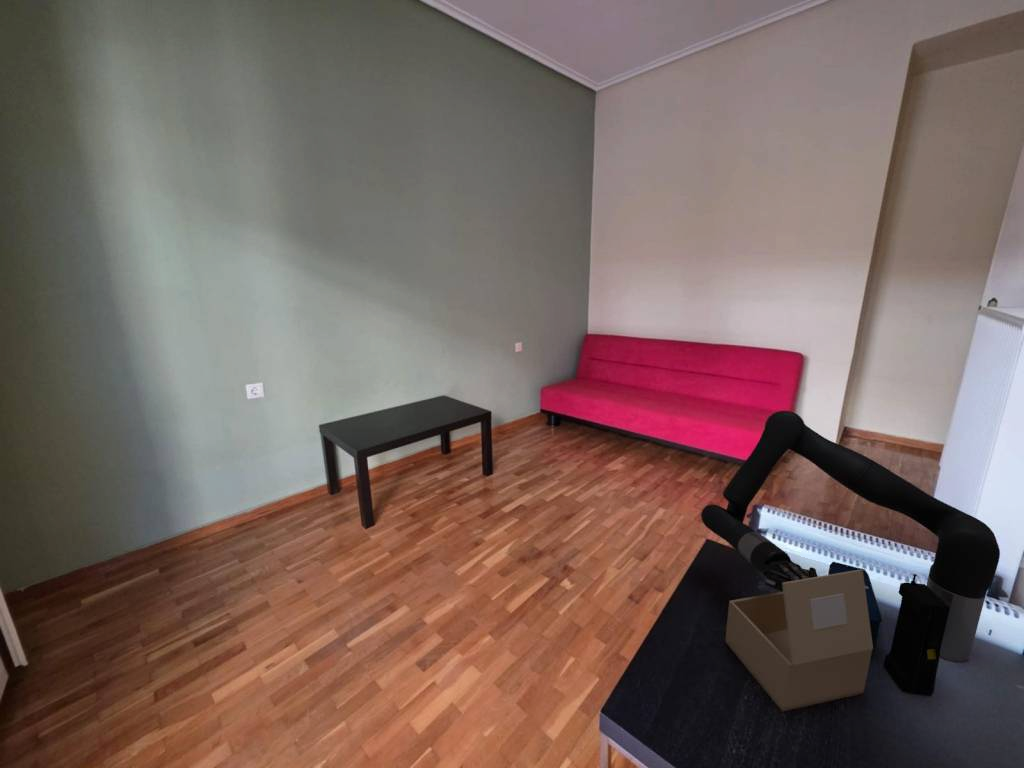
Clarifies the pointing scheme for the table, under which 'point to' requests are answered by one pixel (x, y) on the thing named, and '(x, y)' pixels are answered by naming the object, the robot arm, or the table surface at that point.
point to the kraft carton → (788, 657)
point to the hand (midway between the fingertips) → (824, 604)
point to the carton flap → (827, 616)
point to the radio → (870, 596)
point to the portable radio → (917, 639)
